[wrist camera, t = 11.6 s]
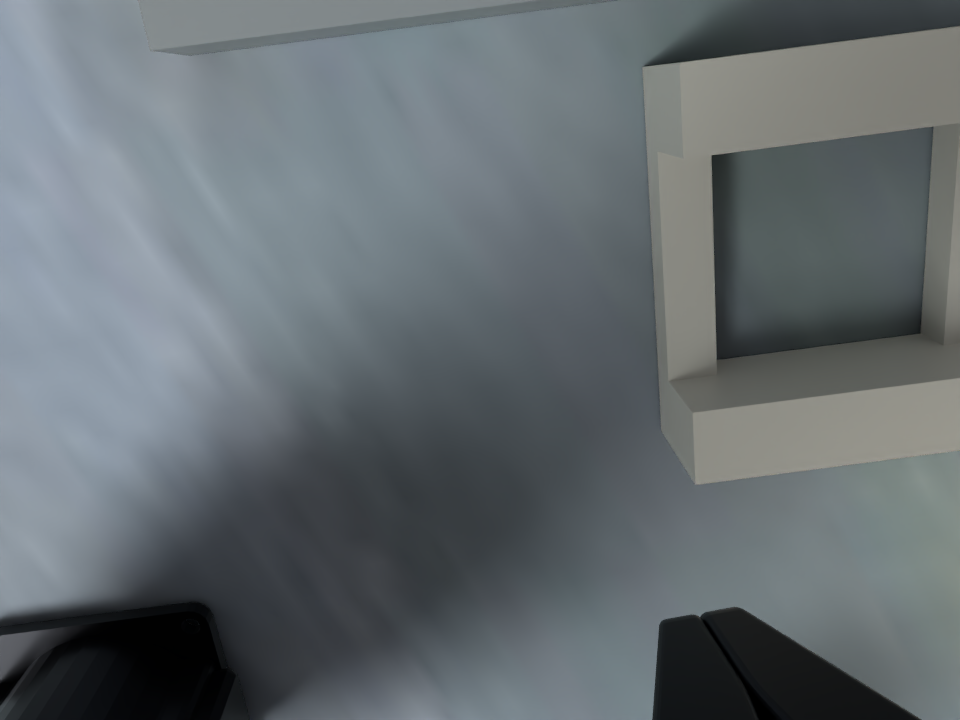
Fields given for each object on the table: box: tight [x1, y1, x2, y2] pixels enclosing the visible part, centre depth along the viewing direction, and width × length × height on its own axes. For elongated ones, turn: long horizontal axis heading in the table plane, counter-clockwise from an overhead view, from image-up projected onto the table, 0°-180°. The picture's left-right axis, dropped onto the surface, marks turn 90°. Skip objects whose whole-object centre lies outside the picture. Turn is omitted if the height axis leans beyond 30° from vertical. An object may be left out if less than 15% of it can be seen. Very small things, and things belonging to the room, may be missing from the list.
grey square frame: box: [643, 26, 960, 485], centre depth 18 cm, size 8×9×3 cm
